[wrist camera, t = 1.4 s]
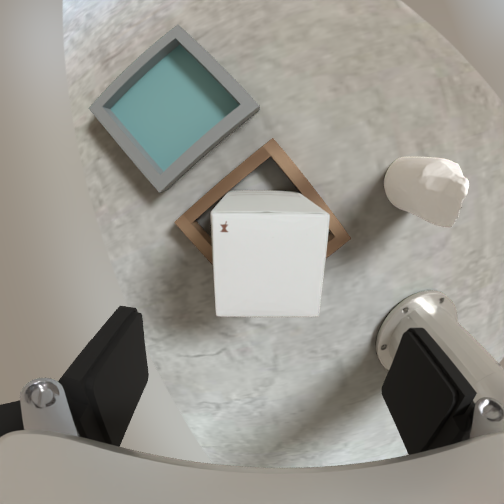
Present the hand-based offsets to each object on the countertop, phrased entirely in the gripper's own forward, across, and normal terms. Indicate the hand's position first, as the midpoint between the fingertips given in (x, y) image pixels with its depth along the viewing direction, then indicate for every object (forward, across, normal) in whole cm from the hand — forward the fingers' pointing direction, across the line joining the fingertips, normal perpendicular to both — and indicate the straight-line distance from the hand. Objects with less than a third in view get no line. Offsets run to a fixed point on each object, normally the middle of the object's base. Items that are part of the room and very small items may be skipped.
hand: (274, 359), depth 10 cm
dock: (+22, +10, -12) cm, 27 cm away
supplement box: (+22, 0, 0) cm, 22 cm away
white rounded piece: (+22, -15, -6) cm, 28 cm away
